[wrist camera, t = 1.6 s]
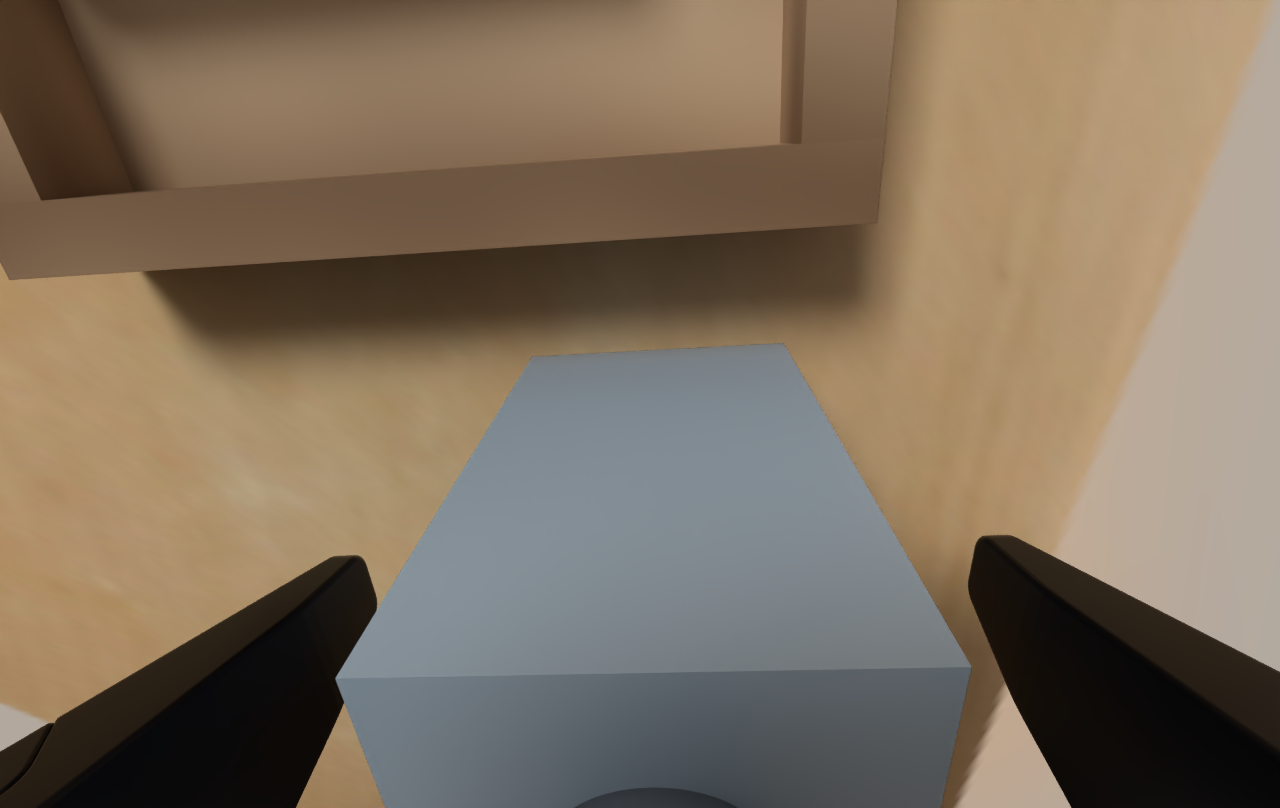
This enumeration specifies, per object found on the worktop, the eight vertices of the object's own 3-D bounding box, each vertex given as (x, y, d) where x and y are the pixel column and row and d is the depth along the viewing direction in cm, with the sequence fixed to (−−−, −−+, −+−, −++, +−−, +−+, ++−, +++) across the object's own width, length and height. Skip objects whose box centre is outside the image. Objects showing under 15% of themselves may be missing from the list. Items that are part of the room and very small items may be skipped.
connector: (777, 549, 12) (942, 1157, 5) (562, 555, 12) (419, 1138, 5) (783, 342, 10) (1064, 822, 3) (532, 356, 11) (246, 825, 3)
